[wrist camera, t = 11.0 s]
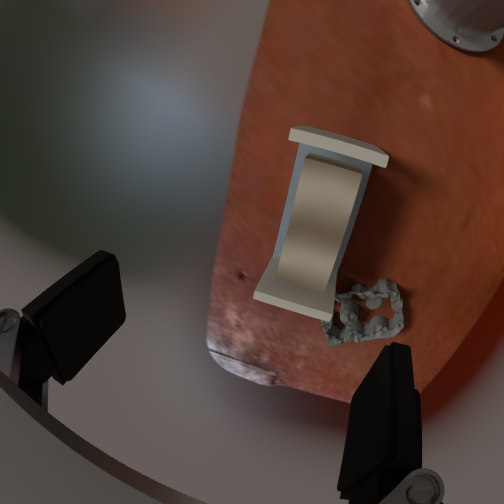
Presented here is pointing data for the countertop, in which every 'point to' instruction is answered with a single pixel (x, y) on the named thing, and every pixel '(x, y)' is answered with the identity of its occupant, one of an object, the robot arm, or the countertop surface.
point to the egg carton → (377, 324)
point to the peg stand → (270, 286)
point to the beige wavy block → (318, 221)
